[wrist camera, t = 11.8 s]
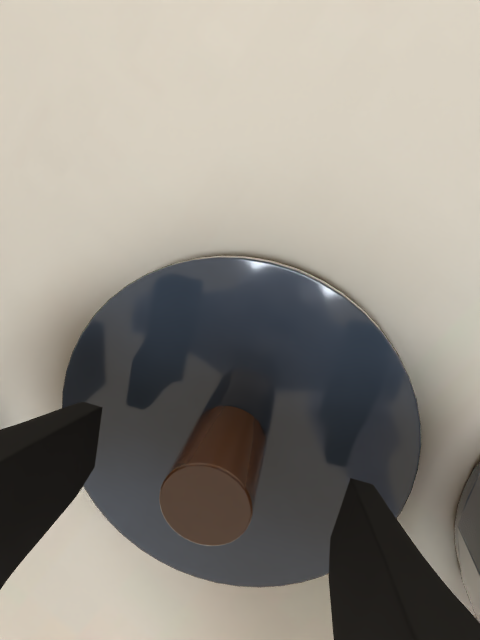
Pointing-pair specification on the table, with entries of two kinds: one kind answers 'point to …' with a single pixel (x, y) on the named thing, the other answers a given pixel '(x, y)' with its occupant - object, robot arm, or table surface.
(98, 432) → the robot arm
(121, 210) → the table surface
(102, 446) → the lid
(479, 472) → the pot
